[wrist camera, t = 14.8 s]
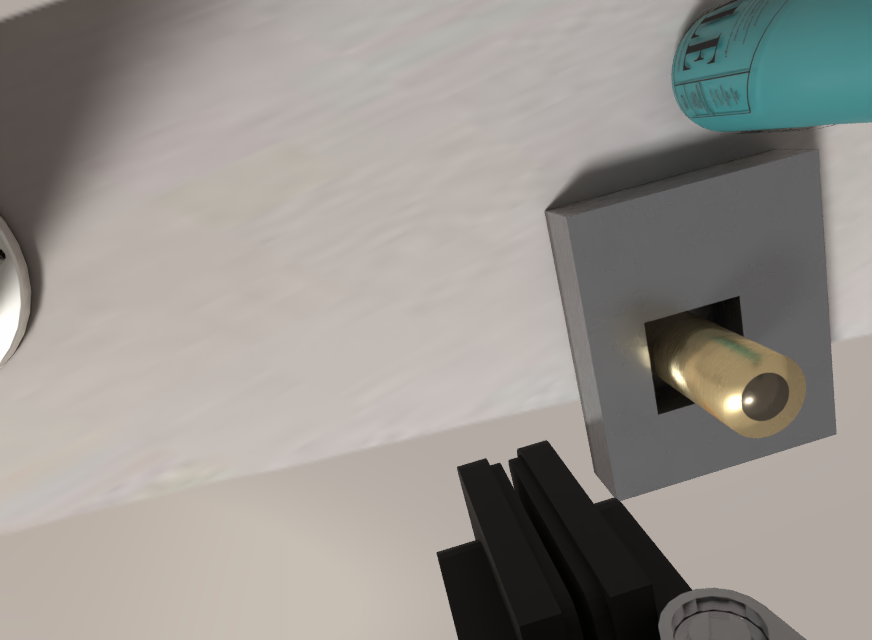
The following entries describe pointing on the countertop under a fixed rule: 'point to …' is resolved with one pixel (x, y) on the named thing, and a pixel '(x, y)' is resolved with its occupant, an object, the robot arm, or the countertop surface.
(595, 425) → the jig
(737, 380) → the bushing
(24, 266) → the robot arm
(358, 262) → the countertop surface
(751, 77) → the beverage bottle
